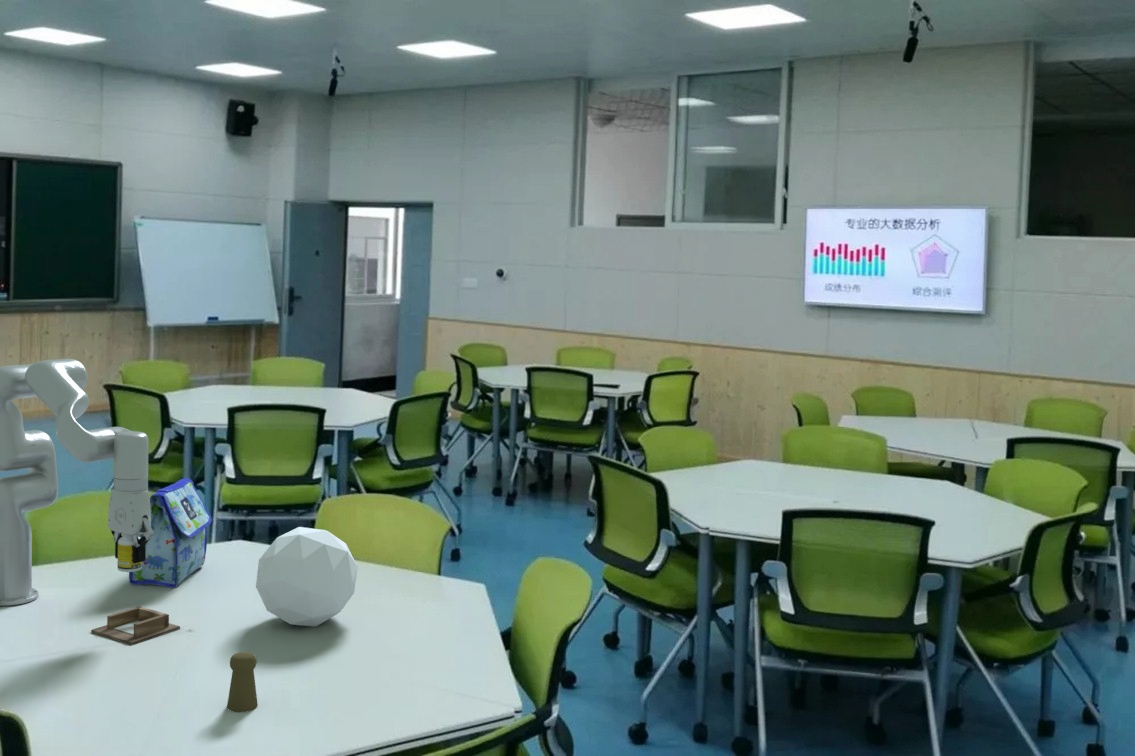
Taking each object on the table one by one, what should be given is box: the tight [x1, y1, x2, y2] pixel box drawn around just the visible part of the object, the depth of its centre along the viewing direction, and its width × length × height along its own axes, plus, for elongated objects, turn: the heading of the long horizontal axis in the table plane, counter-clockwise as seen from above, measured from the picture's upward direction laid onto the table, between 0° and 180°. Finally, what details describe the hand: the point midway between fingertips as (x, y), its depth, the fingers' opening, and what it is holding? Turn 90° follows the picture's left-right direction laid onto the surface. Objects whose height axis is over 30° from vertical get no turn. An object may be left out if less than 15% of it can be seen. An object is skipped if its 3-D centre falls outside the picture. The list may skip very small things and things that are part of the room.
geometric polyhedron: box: [255, 526, 358, 627], centre depth 273 cm, size 24×25×25 cm
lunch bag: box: [128, 477, 213, 589], centre depth 304 cm, size 22×17×26 cm
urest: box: [90, 605, 181, 646], centre depth 262 cm, size 14×14×4 cm
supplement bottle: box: [117, 533, 142, 573], centre depth 259 cm, size 5×5×10 cm
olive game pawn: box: [226, 651, 259, 713], centre depth 222 cm, size 6×6×11 cm
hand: (130, 558), depth 259 cm, fingers closed on supplement bottle, 5 cm apart
